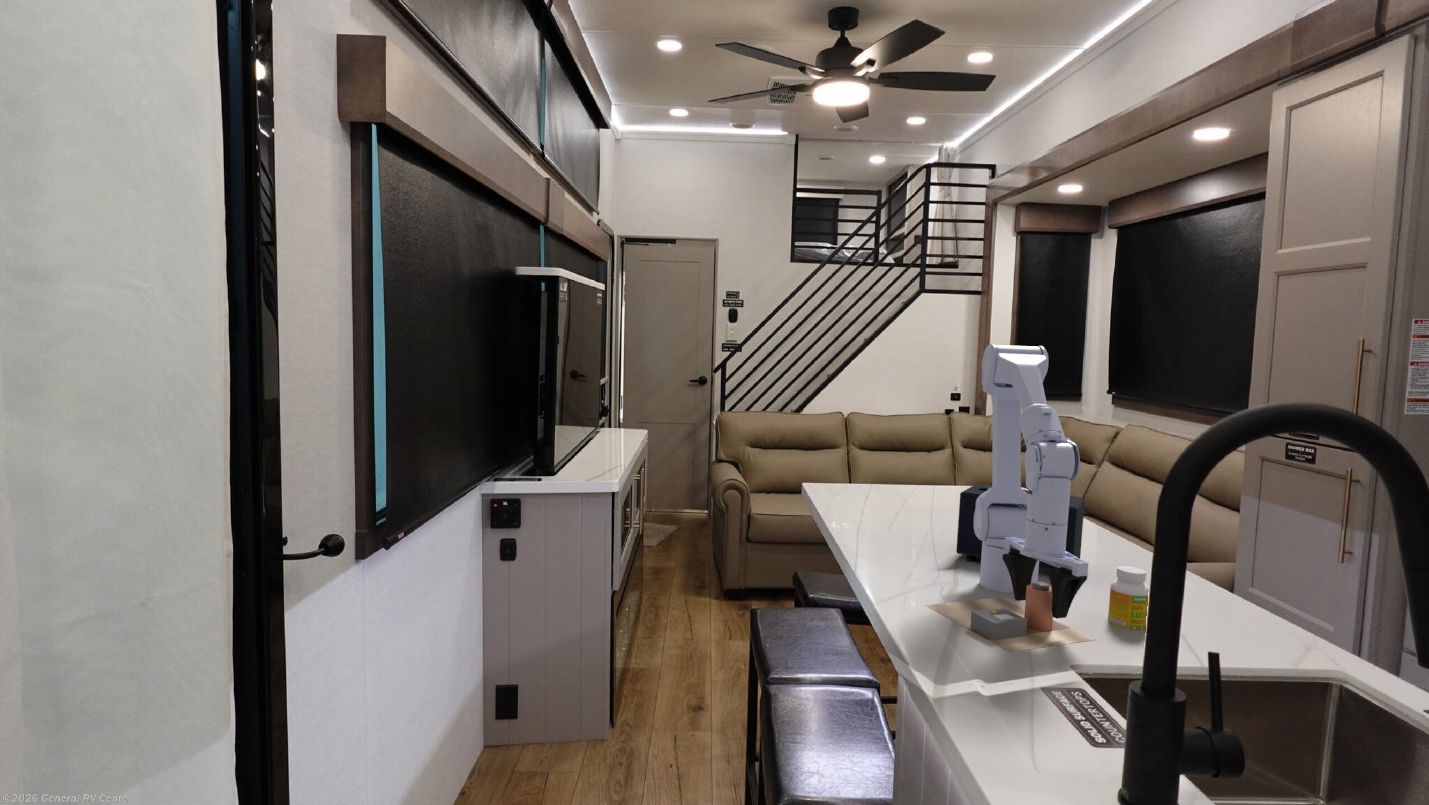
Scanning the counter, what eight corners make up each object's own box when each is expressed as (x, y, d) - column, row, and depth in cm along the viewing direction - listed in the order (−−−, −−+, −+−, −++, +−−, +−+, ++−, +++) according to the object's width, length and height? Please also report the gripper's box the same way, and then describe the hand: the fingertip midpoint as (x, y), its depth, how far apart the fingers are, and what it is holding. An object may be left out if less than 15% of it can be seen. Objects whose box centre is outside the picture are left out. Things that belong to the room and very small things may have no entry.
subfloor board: (1002, 603, 128) (1003, 597, 128) (1095, 647, 111) (1096, 639, 110) (924, 612, 122) (925, 605, 122) (1009, 660, 105) (1010, 651, 105)
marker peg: (1038, 620, 117) (1041, 579, 117) (1058, 630, 114) (1061, 587, 113) (1017, 623, 116) (1021, 581, 116) (1037, 632, 112) (1040, 589, 112)
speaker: (1079, 566, 153) (1085, 493, 152) (1071, 582, 142) (1077, 504, 141) (970, 547, 165) (975, 479, 163) (955, 560, 154) (960, 488, 153)
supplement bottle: (1131, 639, 115) (1137, 576, 114) (1099, 626, 119) (1104, 566, 119) (1153, 633, 117) (1159, 572, 116) (1121, 621, 122) (1126, 563, 121)
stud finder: (1001, 623, 115) (1003, 606, 115) (1026, 636, 111) (1027, 618, 111) (970, 627, 113) (971, 610, 113) (993, 640, 109) (995, 622, 108)
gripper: (991, 511, 119) (985, 594, 120) (1064, 534, 105) (1057, 628, 107) (1026, 509, 121) (1020, 591, 123) (1102, 531, 108) (1094, 623, 109)
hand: (1039, 608), depth 115 cm, fingers open, 7 cm apart
